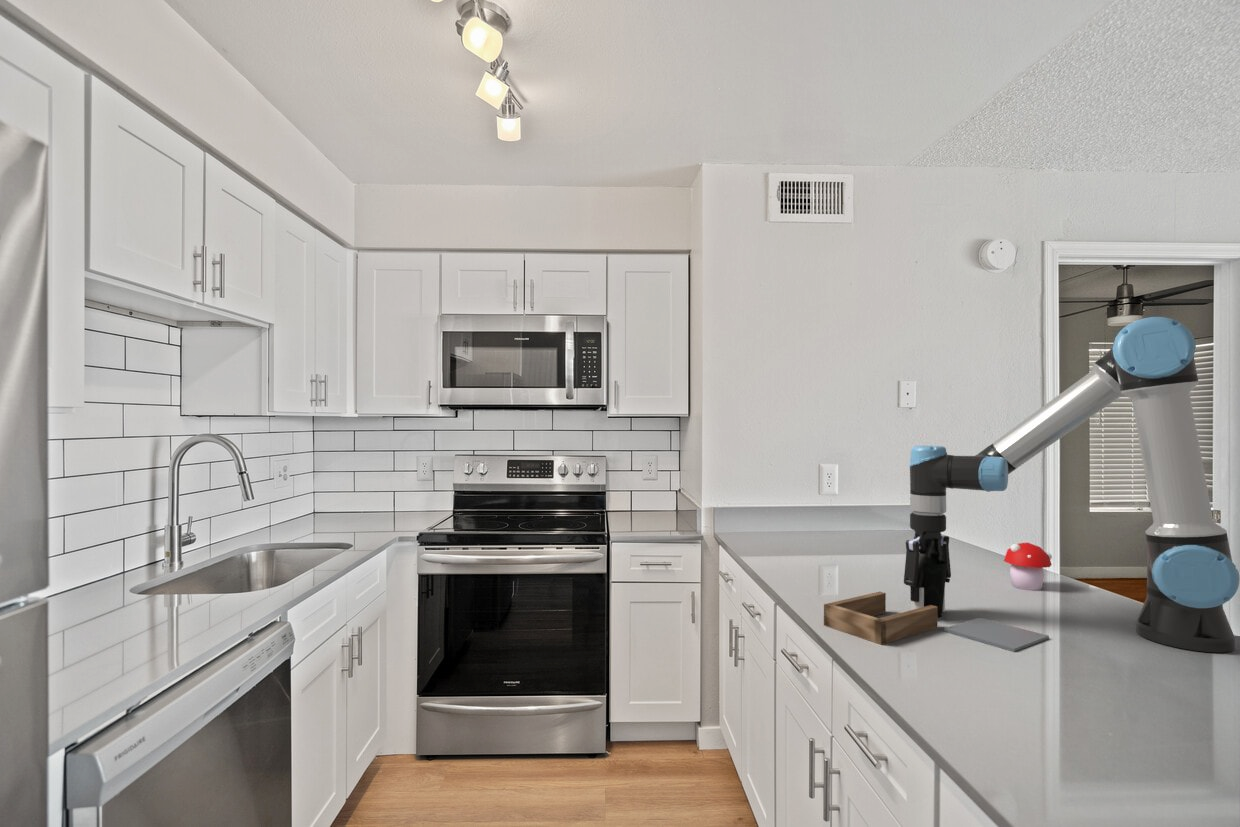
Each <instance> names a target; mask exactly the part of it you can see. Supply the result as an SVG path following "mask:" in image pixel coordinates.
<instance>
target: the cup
mask: <svg viewBox="0 0 1240 827" xmlns="http://www.w3.org/2000/svg"><path fill="white" fill-rule="evenodd" d="M946 570H947V563H946V562H945V561H942V560H941V565H931V564H930V560H929V559H928V560H927V563H926V564H924V577H923V581H922V585H921V587H922V588H924V607H925V606H929V605H933V606H937V607H938V618H940V617H941V618H942V617H943V612H944V611H943V600H944V590H946V588H945V587H946V582H945V580H946Z"/></svg>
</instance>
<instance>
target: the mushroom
mask: <svg viewBox="0 0 1240 827" xmlns="http://www.w3.org/2000/svg"><path fill="white" fill-rule="evenodd" d="M1052 558H1053V556H1052V554H1051V553H1050V552H1047V551H1045V550H1044V549H1043V548H1042V547H1041V546H1038V545H1035V544H1033V543H1030V542H1020V543H1013V544H1011V545H1010V548H1008V549H1007V550H1006V553H1005V556H1004V560H1003V562H1005V563H1008V564H1009V565H1011V567H1010V570H1009V575H1010V580H1011V585H1012V587H1013V588H1015V589H1020V590H1024V591H1040V590H1042V588H1043V583H1044V577H1045V574H1044V569H1043V568H1050V567H1051V566H1052V561H1051V560H1052Z"/></svg>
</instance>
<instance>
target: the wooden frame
mask: <svg viewBox="0 0 1240 827" xmlns="http://www.w3.org/2000/svg"><path fill="white" fill-rule="evenodd" d="M886 596H887V594H886V592H883V591H876V592H871V593H868V594H863V595H858V596H854V597H850V598H846V599H842V600H837V601H833V602H827V603H824V604H823V626H826V627H828V628H831V629H834V630H837V631H839V632H843V633H846V634H849V635H851V636H855V637H857V638H860V639H863V640H866V641H869V642H872V643H875V644H878V645H884V644H889V643H891V642H895V641H898V640H901V639H904V638H908V637H911V636H914V635H917V634H922V633H925V632H928V631H930V630H934V629H935V630H936V629H938V623H939V622H938V618H939V617H938V607H937V606H933V605H929V606H925V607H921V608H918V609H914V610H911V609H910V610H907V611H903V612H900V613H896V614H891V615H888V616H884V617H880V618H878V617H875V616H878V615H881V614H885V613H886V610H887V609H886V598H887V597H886Z"/></svg>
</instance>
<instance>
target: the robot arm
mask: <svg viewBox="0 0 1240 827" xmlns="http://www.w3.org/2000/svg"><path fill="white" fill-rule="evenodd" d="M1196 347H1197V344H1196V339H1195V337H1194V335H1193V333H1192V331H1191V330H1189V328H1188V327H1187V326H1185V325H1184V324H1183V323H1181V322H1180V321H1177V320H1176V319H1173V318H1170V317H1169V318H1168V317H1165V316H1150V317H1144V318H1141V319H1138V320H1135V321H1133V322H1131V323H1129V324H1127V325H1125V326H1124V327H1123V328H1122V329H1121V330H1120V331H1119V332H1118V333H1117V335H1116V337H1115V338H1114V341H1113V346H1112V347H1111V348H1110V349H1109V350H1108V351H1107V352H1106V353H1105V354H1104V355H1103V356H1101V357H1100V358H1098V360H1096V361H1095V362H1094V363H1092V367H1091V368H1092V369H1091V371H1090V372H1088V373H1087V374H1086V375H1084V376H1082V377H1081V378H1080V379H1078V380H1077V381H1076V382H1074V383H1073V384H1071V386H1069V387H1068V388H1066V389H1065V390H1064V391H1062V392H1061V393H1059V394H1058V395H1056V396H1055V397H1054V398H1053V399H1051V400H1050V401H1049V402H1047V403H1046V404H1045V405H1043V406H1042V407H1040V408H1039V409H1038V410H1036V411H1035V412H1033V413H1032V414H1031V415H1030V416H1028V417H1026V418H1025V419H1024V420H1023V421H1021V422H1019V423H1018V424H1017V425H1016V426H1014V427H1013V428H1011V429H1010V430H1009V431H1007V432H1006V433H1005V434H1003V435H1002V436H1001V437H999V438H998V439H997V440H995V441H994V442H992V444H990V445H988V446H986V447H985V448H984V449H983V450H981V451H980V452H979V453H977V454H976V455H953V454H948V452H947V448H946V447H945V446H943V445H941V446H940V445H915V446H913V447H912V448H911V450H910V458H909V459H910V460H909V461H910V462H909V465H908V466H909V485H910V487H909V488H910V489H909V491H910V492H909V493H910V494H909V495H910V497H909V501H910V503H909V504H910V505H909V508H910V511H911V513H910V514H909V527H910V529H912V530H913V531H914V536H913V539H912V540H909V539H907V540H906V541H905V549H906V550H905V551H906V552H905V564H904V574H903V584H904V585H905V586H909V588H910V610H914V609H918V608H921V607H924V588H922V587H921V585H922V581H923V577H924V564H926V563H927V560H928V559H929V560H930V564H931V565H941V560H942V561H945V562H946V563H947V570H946V580H945V583H950V581H951V579H950V578H951V577H952V571H951V570H952V569H951V560H950V549H949V548H950V546H949V544H950V537H949V536H948V535H942V533H944V532H946V530H947V516H946V515H945V513H947V489H952V490H954V489H956V490H957V489H958V490H959V489H960V490H970V491H985V492H989V493H990V492H1004V491H1006V490H1007V488H1008V484H1009V474H1011V473H1013V472H1014V471H1016V469H1018V468H1019V467H1021V466H1022V465H1024V464H1025V463H1026V462H1028V461H1029V460H1031V459H1033V458H1034V457H1035V456H1037V455H1038V454H1040V453H1041V452H1043V451H1044V450H1045V449H1047V448H1049V447H1050V446H1051V445H1053V444H1055V443H1056V442H1057V441H1058V440H1060V439H1061V438H1063V437H1064V436H1066V435H1067V434H1069V433H1071V431H1073V430H1075V429H1076V428H1078V427H1079V426H1080V425H1082V424H1083V423H1085V422H1086V421H1088V420H1089V419H1090V418H1092V417H1094V416H1095V415H1096V414H1098V413H1099V412H1101V411H1102V410H1103V409H1105V408H1107V407H1108V406H1110V405H1111V404H1112V403H1113V402H1115V401H1116V400H1118V399H1120V398H1122V397H1123V398H1128V399H1130V400H1131V402H1132V404H1131V405H1132V408H1133V414H1134V419H1135V424H1136V430H1137V432H1136V433H1137V437H1138V442H1139V446H1140V454H1141V459H1142V465H1143V470H1144V476H1145V481H1146V488H1147V493H1148V497H1149V498H1148V500H1149V504H1150V510H1151V516H1152V524H1151V525H1150V526H1148V528H1147V529H1146V530H1145V531H1144V532H1145V541H1146V543H1147V544H1146V552H1147V553H1146V555H1147V556H1146V561H1147V562H1146V599H1145V600H1144V602H1143V605H1142V608H1141V610H1140V612H1139V614H1138V617H1137V619H1136V621H1135V625H1136V626H1135V627H1136V633H1137V634H1138V635H1139V636H1140V637H1143V638H1145V639H1147V640H1150V641H1152V642H1155V643H1158V644H1162V645H1165V646H1169V647H1173V648H1177V649H1178V648H1179V649H1184V650H1191V651H1198V652H1203V653H1204V652H1206V653H1230V652H1232V651H1234V650H1235V649H1236V638H1235V635H1234V632H1233V629H1232V627H1231V624H1230V621H1229V620H1228V617H1227V615H1226V613H1225V610H1224V606H1223V605H1224V604H1226V603H1227V602H1229V601H1230V600H1231V599H1232V598H1233V597H1235V595H1236V593H1237V592H1238V589H1239V586H1240V574H1239V570H1238V568H1237V566H1236V565H1235V564H1234V563H1233V559H1232V553H1231V548H1230V543H1229V539H1228V538H1229V537H1228V533H1227V529H1225V528H1223V526H1221V525H1219V524H1217V523H1216V521H1214V517H1213V511H1212V507H1211V502H1210V496H1209V490H1208V484H1207V479H1206V474H1205V468H1204V464H1203V458H1202V453H1201V447H1200V442H1199V436H1198V431H1197V426H1196V420H1195V415H1194V409H1193V405H1192V399H1191V392H1192V391H1193V389H1195V387H1197V385H1198V384H1200V382H1199V378H1198V371H1197V366H1196V360H1195V353H1196V349H1197V348H1196ZM945 590H946V589H945ZM945 590H944V600H943V611H942V612H945V611H946V608H945V606H946V604H945V602H946V601H945V600H946V599H945V597H946V596H945V594H946V593H945V592H946V591H945Z"/></svg>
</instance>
